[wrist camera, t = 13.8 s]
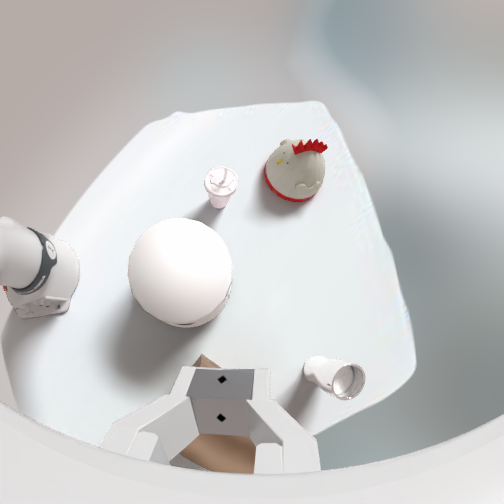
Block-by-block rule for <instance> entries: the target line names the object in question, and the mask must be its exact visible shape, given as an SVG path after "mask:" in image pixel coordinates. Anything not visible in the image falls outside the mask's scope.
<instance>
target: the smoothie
mask: <svg viewBox="0 0 504 504" xmlns="http://www.w3.org/2000/svg"><path fill="white" fill-rule="evenodd" d="M204 185H205V189H206V190H207V192H208V195H209V199H210V203H211V205H212V206H213V207H214V208H217V209H221V208H223V207H225V206H226V204H227V202H228V201H229V199H230V197H231V195H232V194H233V193H234V192H235V191H236V189H237V186H238V178H237V175H236V174H235V172H234V171H232V170H231V169H229V168H227V167H216V168H213V169H211V170H210V171H209V172H208V173H207V174H206V177H205V180H204Z"/></svg>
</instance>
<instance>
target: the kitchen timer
mask: <svg viewBox="0 0 504 504" xmlns="http://www.w3.org/2000/svg"><path fill="white" fill-rule="evenodd" d="M280 145H281V146H280V147H279V148H277V149H276V150H275V151H274V152H273V153H272V155H271V156H270V157H269V159H268V161H267V164H266V166H265V178H266V182H267V184H268V185H269V187H270V188H271V190H272V191H273V192H274V193H275V194H277V195H278V196H280V197H281V198H283V199H285V200H289V201H293V202H302V201H305V200H308V199H310V198H311V197H313V196H314V195H315V194H316V193H317V191H318V190H319V188H320V187H321V185H322V182H323V178H324V174H325V160H324V157H323V155H322V152H323V151H325V150H326V149H327V148H328V147H327V145H324V144H323V142H320V143H319V142H318V139H316V140H315V141H314V142H313V143H312V141H311V139H310V140H309V141H305V140H293V141H292V140H289V139H286V140H284V141H282V142H281V143H280Z"/></svg>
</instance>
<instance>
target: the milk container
mask: <svg viewBox="0 0 504 504" xmlns="http://www.w3.org/2000/svg"><path fill="white" fill-rule="evenodd" d="M128 278H129V282H130V286H131V290H132V293H133V295H134V296H135V298H136V299H137V301H138V302H139V303H140V305H141V306H142V308H143V309H144V310H146V311H147V312H149V313H150V314H152V315H153V316H154V317H156V318H157V319H159V320H161V321H163V322H165V323H167V324H170V325H173V326H176V327H183V328H188V327H196V326H200V325H202V324H205V323H207V322H209V321H210V320H212V319H213V318H215V317H216V316H217V315H218V314H219V313H220V312H221V311H222V309H223V308H224V307H225V305H226V303H227V301H228V299H229V296H230V293H231V287H232V262H231V259H230V256H229V253H228V250H227V247H226V245H225V243H224V242H223V241H222V240H221V238H220V237H219V236H218V235H217V233H216V232H215V231H214V230H212V229H211V228H209V227H208V226H206V225H204V224H203V223H201V222H199V221H195V220H190V219H186V218H176V219H168V220H164V221H162V222H160V223H158V224H156V225H154V226H152V227H150V228H149V229H148V230H147V231H146V232H145V233H144V234H143V235H142V236H141V237H140V238H139V239H138V240H137V241H136V243H135V245H134V248H133V250H132V252H131V254H130V256H129V265H128Z"/></svg>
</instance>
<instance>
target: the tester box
mask: <svg viewBox="0 0 504 504" xmlns="http://www.w3.org/2000/svg"><path fill="white" fill-rule="evenodd" d="M192 367H206V368H221V367H219V366H218V365H216V364H215V363H214V362H212V361H211V360H209V359H208V358H206V357H205V356H204V355H202V354H201V356H200V357H199V358H198V360H197V361H196V362H195V364H194V365H193V366H192ZM179 454H181V455H182V456H184V457H186V458H187V459H189V460H191V461H193V462H195V463H196V464H198V465H200V466H202V467H204V468H206V469H208V470H210V471H214V472H226V473H245V474H254V466H255V455H256V446H255V445H254V443H253V442H252V440H251V439H250V436H234V435H219V434H202V433H199V436H197V437H196V438H195V439H194V440H193V441H192V442H191V443H190V444H189V445H188V446H186V447H185V448H184V449H183V450H182V451H181V452H180V453H179Z"/></svg>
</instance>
